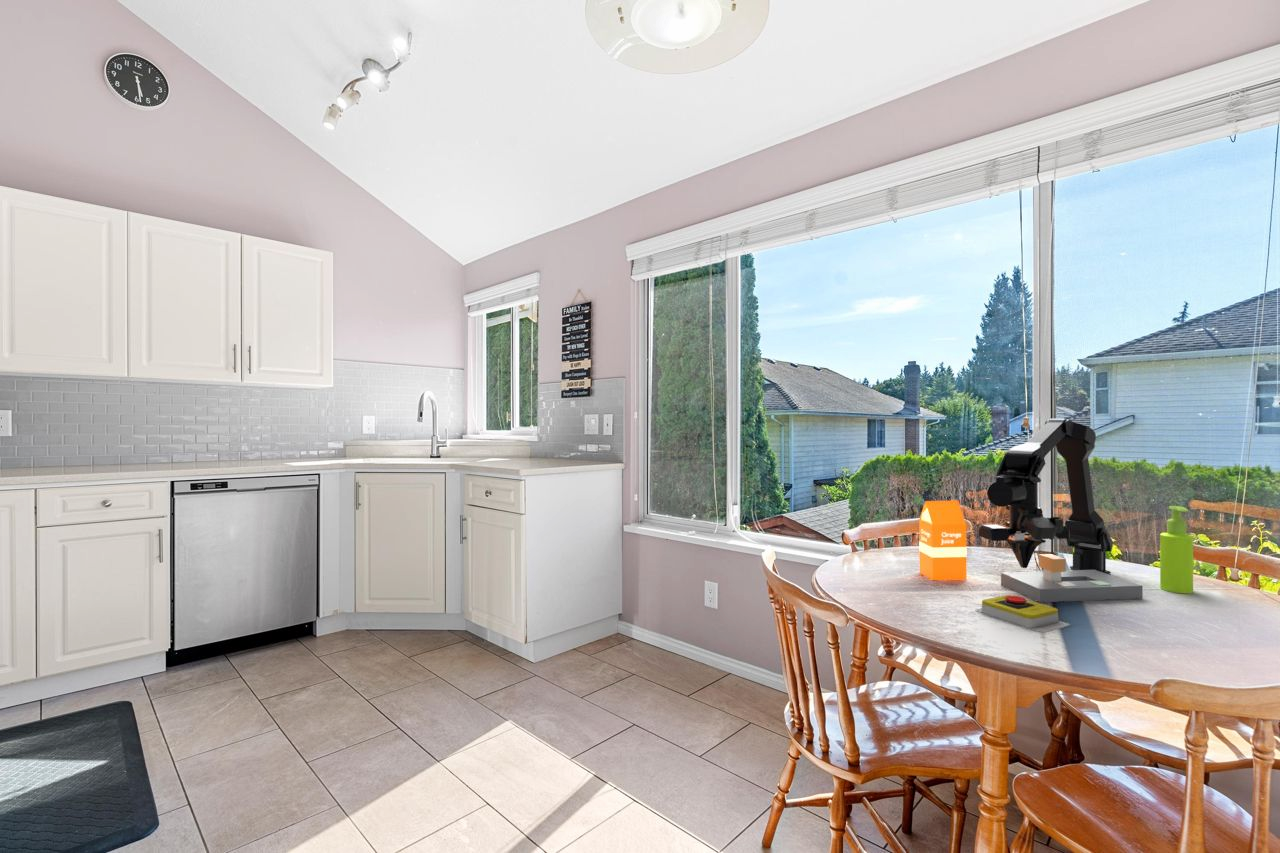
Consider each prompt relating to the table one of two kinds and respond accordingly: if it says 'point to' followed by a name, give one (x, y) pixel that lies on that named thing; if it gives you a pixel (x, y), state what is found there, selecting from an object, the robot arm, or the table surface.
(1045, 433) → the robot arm
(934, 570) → the orange juice
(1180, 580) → the soap dispenser
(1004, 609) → the emergency button
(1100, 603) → the table surface
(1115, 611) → the table surface
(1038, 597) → the breaker box
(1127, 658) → the table surface
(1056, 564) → the lever
